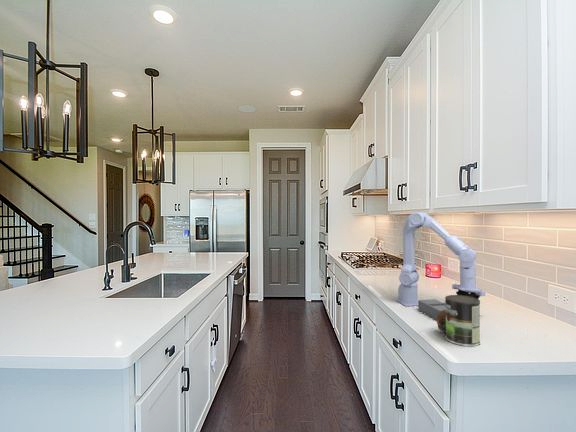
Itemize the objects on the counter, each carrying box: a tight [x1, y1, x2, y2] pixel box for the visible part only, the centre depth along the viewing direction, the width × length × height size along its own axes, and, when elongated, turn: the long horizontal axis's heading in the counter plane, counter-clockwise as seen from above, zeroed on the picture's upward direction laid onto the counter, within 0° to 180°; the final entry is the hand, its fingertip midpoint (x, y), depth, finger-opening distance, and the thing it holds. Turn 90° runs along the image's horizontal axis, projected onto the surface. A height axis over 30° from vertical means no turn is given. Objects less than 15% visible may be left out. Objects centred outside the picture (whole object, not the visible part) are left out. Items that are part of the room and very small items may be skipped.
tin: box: [436, 309, 446, 334], centre depth 115 cm, size 15×3×8 cm, turn 105°
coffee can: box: [444, 294, 481, 348], centre depth 107 cm, size 10×10×14 cm
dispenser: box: [417, 298, 446, 321], centre depth 133 cm, size 9×16×4 cm, turn 6°
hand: (468, 309), depth 135 cm, fingers open, 3 cm apart
